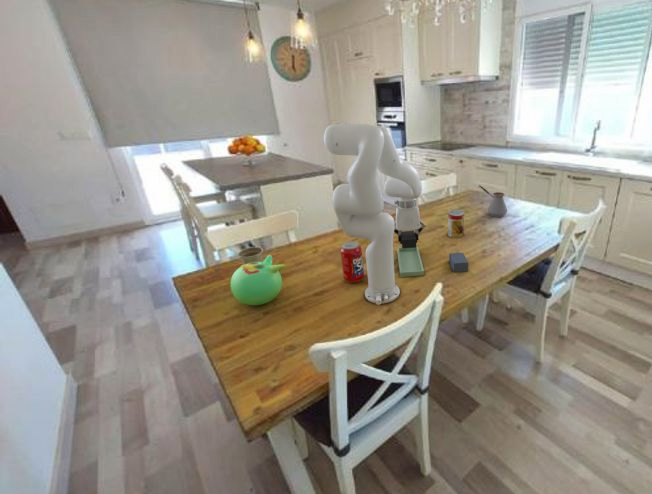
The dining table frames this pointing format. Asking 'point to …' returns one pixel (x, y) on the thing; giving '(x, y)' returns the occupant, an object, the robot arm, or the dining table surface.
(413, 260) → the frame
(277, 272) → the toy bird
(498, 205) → the coffee pot
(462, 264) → the pad slate
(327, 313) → the dining table surface
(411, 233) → the pad charcoal
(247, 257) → the flower pot
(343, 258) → the soda can
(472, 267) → the dining table surface
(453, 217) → the canned food
